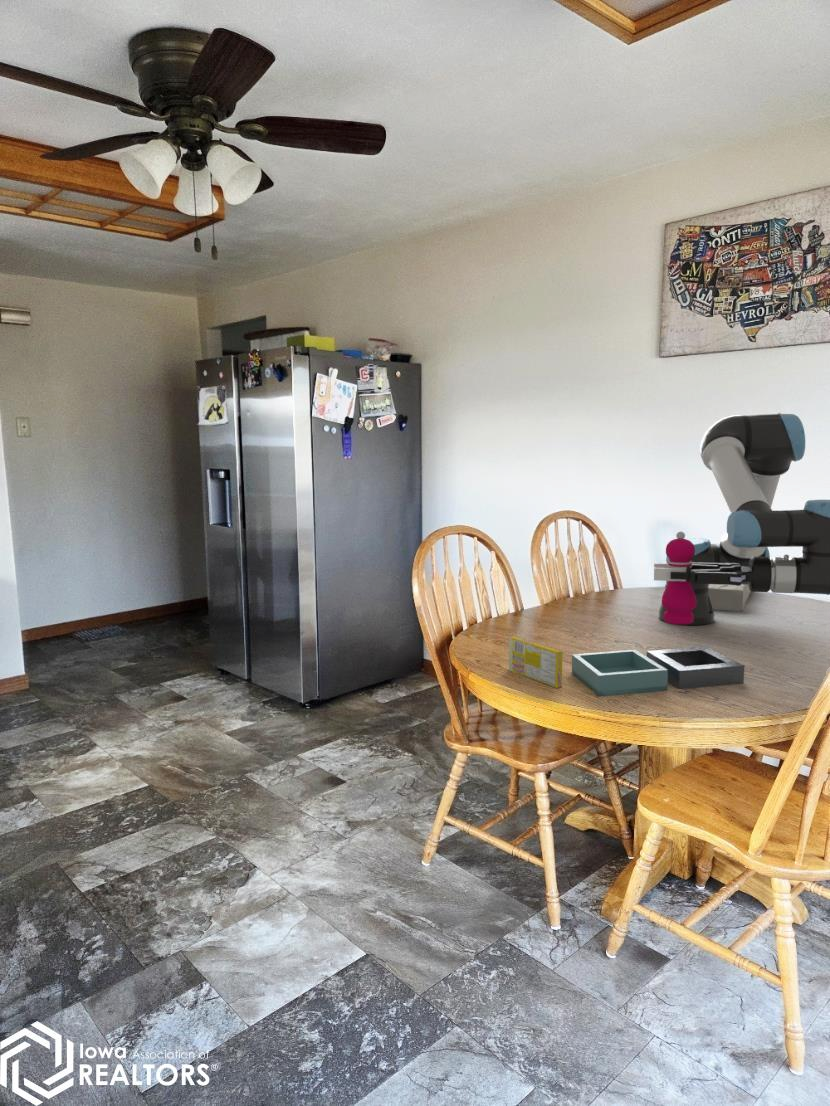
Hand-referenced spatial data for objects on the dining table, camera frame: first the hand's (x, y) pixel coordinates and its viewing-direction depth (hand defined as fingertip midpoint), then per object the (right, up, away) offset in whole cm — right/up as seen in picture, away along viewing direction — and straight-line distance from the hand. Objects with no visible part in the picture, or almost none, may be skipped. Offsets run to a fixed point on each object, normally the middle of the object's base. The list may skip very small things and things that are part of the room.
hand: (654, 571), depth 158 cm
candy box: (-26, -25, +5) cm, 36 cm away
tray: (-8, -24, +1) cm, 26 cm away
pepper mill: (+5, -11, 0) cm, 12 cm away
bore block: (+10, -24, +3) cm, 26 cm away
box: (+44, -11, +78) cm, 90 cm away
